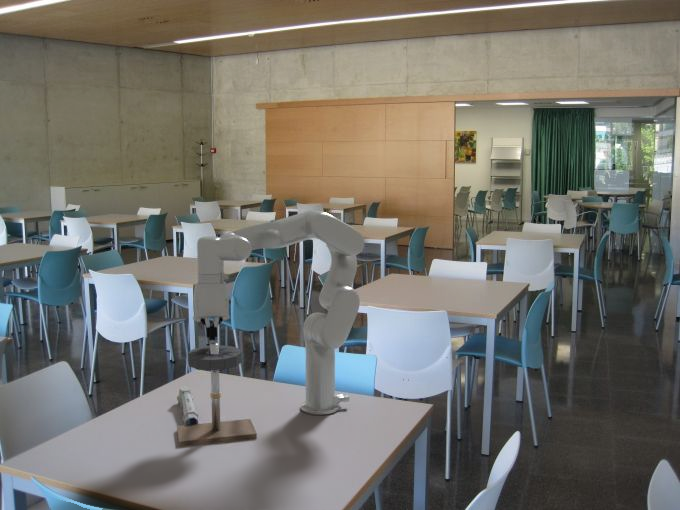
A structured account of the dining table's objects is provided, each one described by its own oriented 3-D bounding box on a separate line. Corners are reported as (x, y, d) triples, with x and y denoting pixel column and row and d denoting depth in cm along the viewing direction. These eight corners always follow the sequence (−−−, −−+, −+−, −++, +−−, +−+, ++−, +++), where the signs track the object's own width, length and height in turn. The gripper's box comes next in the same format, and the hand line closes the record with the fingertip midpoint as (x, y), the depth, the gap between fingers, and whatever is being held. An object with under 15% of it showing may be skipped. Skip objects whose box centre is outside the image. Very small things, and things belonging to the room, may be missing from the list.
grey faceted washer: (237, 353, 214) (237, 344, 214) (244, 367, 200) (244, 357, 200) (186, 357, 210) (186, 347, 210) (190, 371, 196) (190, 361, 195)
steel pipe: (220, 427, 210) (218, 342, 206) (221, 431, 207) (220, 344, 203) (210, 428, 209) (208, 343, 205) (211, 432, 206) (209, 345, 202)
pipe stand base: (250, 423, 217) (250, 418, 217) (256, 438, 205) (256, 433, 205) (177, 430, 211) (177, 426, 211) (179, 446, 199) (179, 441, 199)
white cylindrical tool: (182, 418, 211) (176, 382, 234) (183, 438, 213) (176, 400, 236) (200, 416, 212) (192, 380, 235) (200, 436, 214) (192, 398, 237)
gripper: (234, 275, 213) (235, 334, 216) (184, 277, 209) (185, 337, 211) (238, 279, 206) (238, 341, 208) (185, 281, 202) (187, 344, 204)
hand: (211, 339), depth 210 cm, fingers closed
